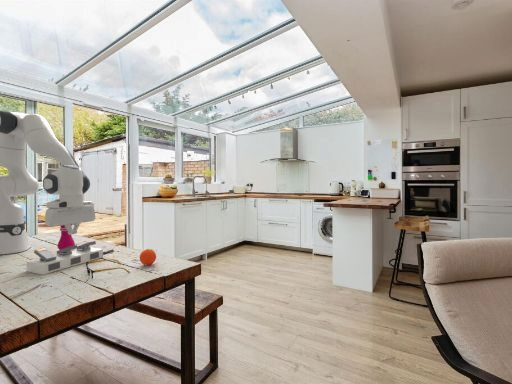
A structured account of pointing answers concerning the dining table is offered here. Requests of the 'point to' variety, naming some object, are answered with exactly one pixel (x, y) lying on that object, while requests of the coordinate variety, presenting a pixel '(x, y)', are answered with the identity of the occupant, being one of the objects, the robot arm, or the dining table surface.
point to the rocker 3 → (86, 245)
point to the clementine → (148, 257)
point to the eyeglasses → (101, 269)
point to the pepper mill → (65, 238)
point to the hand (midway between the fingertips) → (72, 234)
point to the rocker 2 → (66, 249)
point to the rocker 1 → (45, 254)
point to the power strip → (65, 260)
